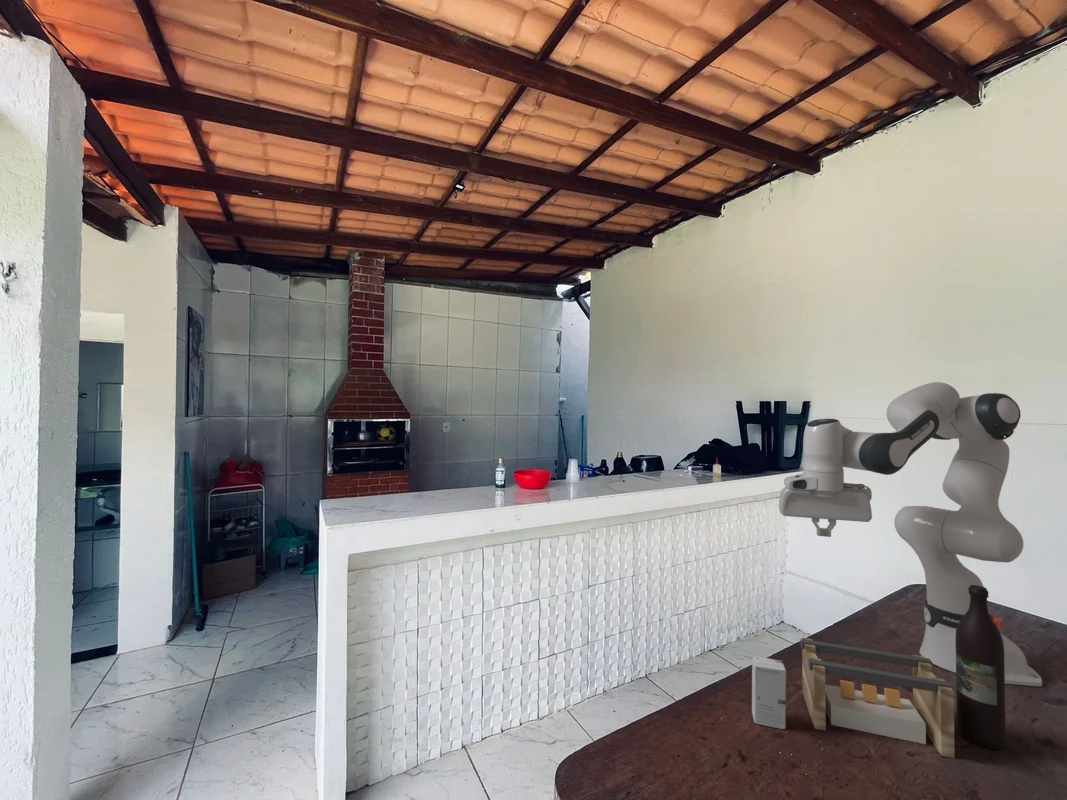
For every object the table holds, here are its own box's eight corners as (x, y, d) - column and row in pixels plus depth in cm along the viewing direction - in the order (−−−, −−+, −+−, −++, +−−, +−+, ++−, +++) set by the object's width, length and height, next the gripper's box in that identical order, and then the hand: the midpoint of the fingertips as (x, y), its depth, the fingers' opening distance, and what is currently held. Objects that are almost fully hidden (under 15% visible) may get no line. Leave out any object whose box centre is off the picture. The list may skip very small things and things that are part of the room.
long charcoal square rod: (929, 666, 98) (929, 658, 98) (932, 670, 97) (932, 662, 97) (800, 645, 107) (800, 638, 107) (801, 649, 105) (801, 642, 105)
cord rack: (924, 715, 100) (923, 656, 100) (954, 758, 87) (953, 690, 88) (802, 692, 108) (802, 637, 108) (814, 728, 96) (813, 666, 96)
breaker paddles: (899, 706, 96) (897, 690, 97) (901, 707, 95) (899, 691, 96) (840, 695, 100) (839, 679, 101) (842, 696, 99) (840, 681, 100)
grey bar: (949, 690, 90) (949, 682, 90) (953, 695, 89) (953, 686, 89) (808, 666, 99) (808, 658, 99) (809, 670, 97) (809, 662, 97)
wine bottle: (947, 725, 96) (945, 580, 97) (982, 726, 96) (980, 580, 97) (978, 750, 89) (976, 594, 90) (1016, 751, 89) (1014, 594, 90)
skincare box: (754, 724, 97) (753, 666, 97) (751, 710, 101) (750, 655, 101) (787, 730, 95) (786, 671, 95) (782, 716, 99) (782, 659, 100)
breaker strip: (909, 718, 99) (909, 699, 99) (925, 744, 91) (925, 723, 91) (822, 701, 104) (822, 683, 104) (831, 724, 97) (831, 705, 97)
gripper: (867, 482, 119) (868, 536, 118) (777, 478, 126) (778, 529, 126) (875, 486, 113) (876, 543, 112) (781, 481, 120) (781, 535, 120)
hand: (823, 535), depth 119 cm, fingers closed
